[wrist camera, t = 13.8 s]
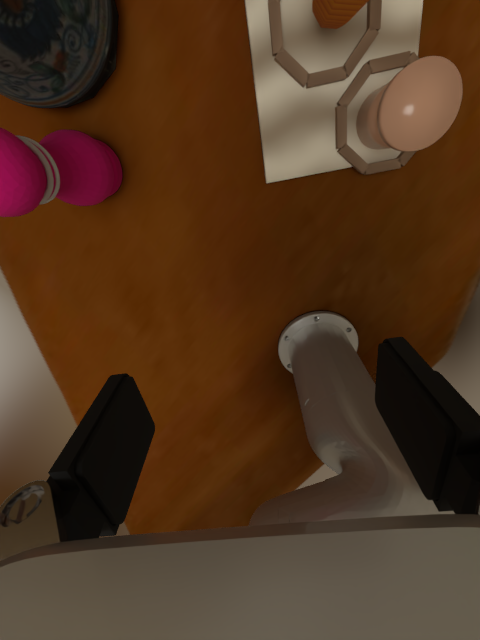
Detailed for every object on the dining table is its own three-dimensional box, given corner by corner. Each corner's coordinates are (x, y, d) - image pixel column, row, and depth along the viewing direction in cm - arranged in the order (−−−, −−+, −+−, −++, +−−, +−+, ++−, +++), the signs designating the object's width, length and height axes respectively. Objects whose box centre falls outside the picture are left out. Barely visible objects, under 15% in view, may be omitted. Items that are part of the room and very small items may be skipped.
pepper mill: (53, 156, 34) (-155, 147, 16) (98, 119, 32) (-81, 66, 14) (95, 212, 37) (-41, 256, 19) (139, 181, 35) (32, 199, 17)
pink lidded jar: (410, 147, 31) (454, 143, 25) (351, 159, 32) (379, 157, 25) (418, 73, 28) (470, 47, 22) (352, 88, 29) (384, 66, 22)
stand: (418, 162, 33) (429, 162, 31) (267, 191, 35) (268, 193, 33) (455, -164, 22) (475, -196, 20) (232, -99, 24) (231, -122, 22)
